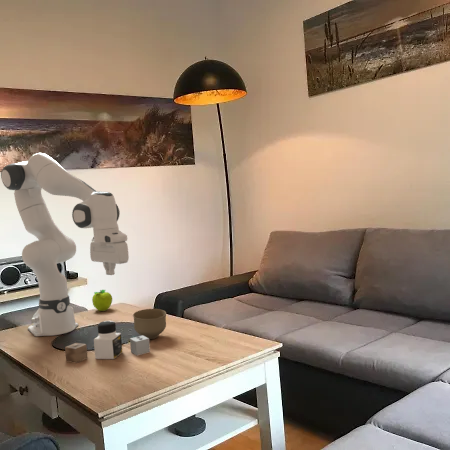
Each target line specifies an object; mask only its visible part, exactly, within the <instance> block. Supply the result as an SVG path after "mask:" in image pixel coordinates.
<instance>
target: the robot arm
mask: <svg viewBox="0 0 450 450" xmlns="http://www.w3.org/2000/svg"><path fill="white" fill-rule="evenodd" d="M0 177H1V178H0V179H1V181H2V184H3V186H4V187H5V188H6V189H7V190H9V191H14V192H13V194H14V200H15V204H16V207H17V211H18V213H19V216H20V219H21V221H22V223H23V226H24V229H25V230H26V231H27V232H28V233H29V234H31V235H33V236H34V237H36V239H38V240H34V241H33V242H30V243H28V244H26V245H25V246H24V247H23V249H22V251H21V259H22V261H23V263H24V264H25V265H26V266H27V267H28V268H30V269H31V271H33V273H34V275H35V276H36V280H37V282H38V289H39V296H40V297H39V299H38V309H37V310H36V312H35V313H34V314H33V316H32V318H31V320H30V321H31V324H32V325H31V324H30V325H29V326H28V327H27V330H28V331H29V332H30V333H31V334H32V335H33V336H34V337H42V336H44V337H45V336H57V335H62V334H63V335H64V334H67V333H70V332H72V331H74V330H75V329H76V328H77V327H78V326H79V323H78V322H76V319H75V313H74V312H75V311H74V308H73V307H72V306H71V305H70V304H71V299H70V296H69V292H68V291H69V290H68V280H67V278H66V276H65V275H64V274H62V273H61V272H60V270H59V268H58V265H57V264H61V263H64V262H67V261H69V260H71V259H72V258H74V256H75V255H76V254H77V253H76V252H77V245H76V243H75V241H74V240H73V238H71V237H69V236H66V234H65V233H64V232H62V230H60V228H59V227H58V226H57V224H56V223H55V222H54V219H53V218H52V215H51V213H50V211H49V208H48V206H47V204H46V202H45V200H44V197H43V195H42V190H44V191H45V192H46V193H48V194H50V195H52V196H60V197H61V196H62V197H63V196H64V197H72V198H76V199H79V200H82V202H79V203H77V204H75V206H74V207H73V209H72V212H71V215H72V216H71V217H72V220H73V221H72V222H73V223H74V224H75V225H76V226H77V227H78V228H79V229H91V228H92V229H93V237H92V239H91V242H90V247H89V249H90V251H89V254H90V259H91V261H92V262H95V263H96V262H97V263H102V265H103V268H104V270H105V275H107V276H114V275H115V273H116V272H115V269H116V265H121V264H126V263H128V261H129V257H130V256H129V247H128V243H127V242H128V235H127V234H126V233H123V232H122V231H121V230H119V224H118V221H119V219H120V208H119V206H118V205H117V203H116V199H115V196H114V193H112V192H110V191H101V190H100V191H98V190H96V189H94V188H93V187H92V186H91V185H90V184H88V183H86V182H85V181H84V180H82V179H80V178H78V177H77V176H75V175H73V174H72V173H70V172H69V171H68V170H66V169H65V168H64V167H63V166H61V164H60V163H59V162H57V161H56V160H55V159H53V157H51V156H49V155H48V154H46V153H42V152H38V153H34V154H32V155H31V156H29V159H28V160H26V161H20V162H17V163H10V164H6V165H5V166H4V167H3V168H2V170H1V172H0Z"/></svg>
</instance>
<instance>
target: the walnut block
mask: <svg viewBox="0 0 450 450" xmlns="http://www.w3.org/2000/svg"><path fill="white" fill-rule="evenodd" d="M87 347H88V346H87V344H86V343H82V342H73V343H72V344H70V345H67V346H65V347H64V349H65V361H66V362H71V363H75V364H77V363H80V362H82V361H84V360H86V359H89V357H88V348H87Z"/></svg>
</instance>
